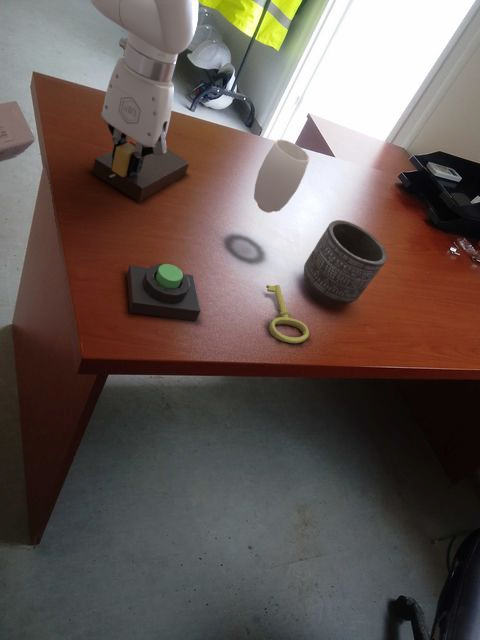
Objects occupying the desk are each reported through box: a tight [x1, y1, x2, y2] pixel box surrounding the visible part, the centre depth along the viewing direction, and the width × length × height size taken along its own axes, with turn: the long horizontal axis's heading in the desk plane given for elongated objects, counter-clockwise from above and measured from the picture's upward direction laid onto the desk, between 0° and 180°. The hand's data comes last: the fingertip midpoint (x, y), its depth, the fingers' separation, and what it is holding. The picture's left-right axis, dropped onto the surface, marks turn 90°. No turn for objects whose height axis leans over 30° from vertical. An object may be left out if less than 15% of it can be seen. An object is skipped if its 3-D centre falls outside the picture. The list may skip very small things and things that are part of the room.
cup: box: [253, 139, 310, 214], centre depth 81 cm, size 7×7×21 cm
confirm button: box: [156, 263, 183, 289], centre depth 67 cm, size 4×4×2 cm
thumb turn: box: [112, 139, 136, 177], centre depth 81 cm, size 5×2×5 cm, turn 159°
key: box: [265, 284, 310, 344], centre depth 78 cm, size 7×12×2 cm, turn 36°
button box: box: [126, 263, 201, 322], centre depth 68 cm, size 10×8×4 cm
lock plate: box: [92, 144, 190, 203], centre depth 88 cm, size 21×10×3 cm, turn 160°
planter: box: [303, 219, 388, 309], centre depth 85 cm, size 12×12×13 cm
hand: (125, 168), depth 83 cm, fingers closed on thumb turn, 2 cm apart
